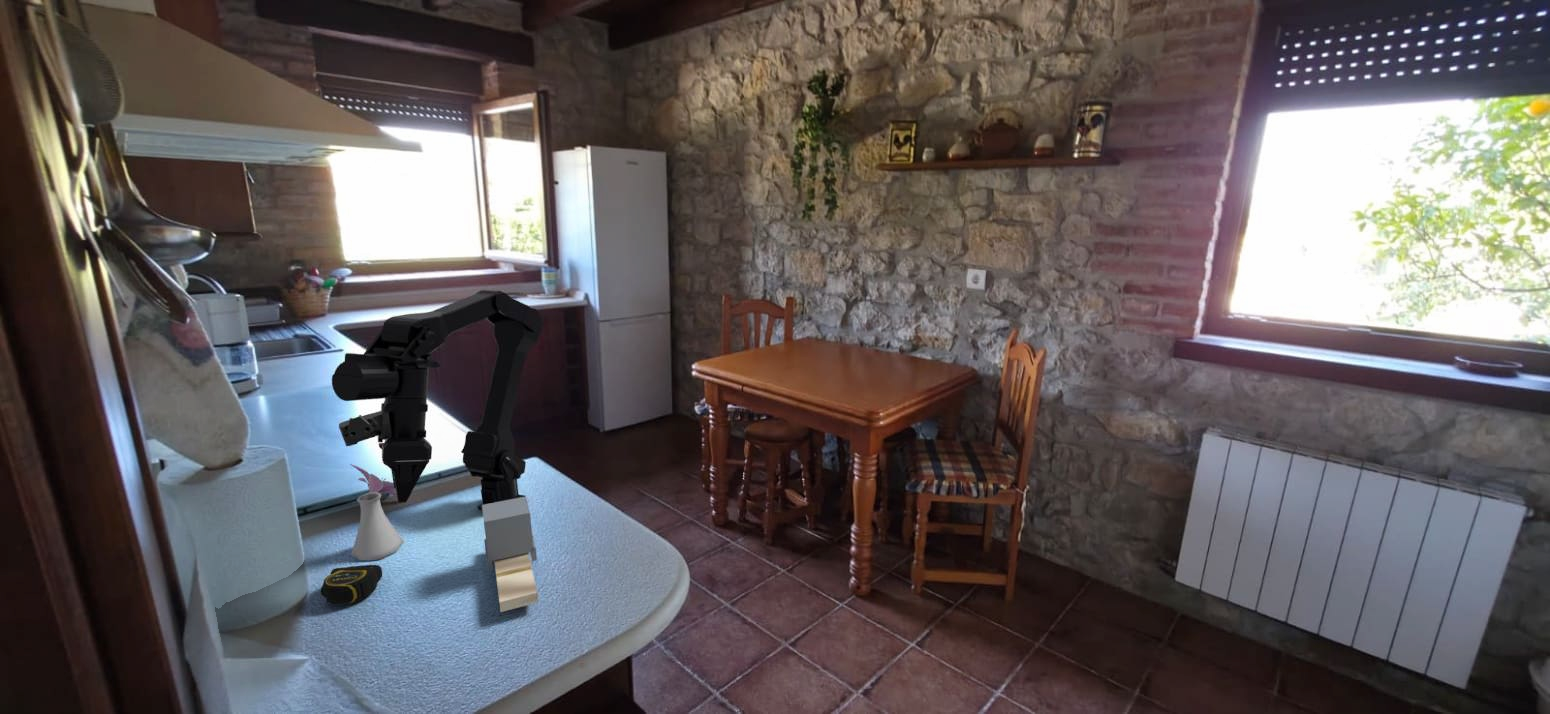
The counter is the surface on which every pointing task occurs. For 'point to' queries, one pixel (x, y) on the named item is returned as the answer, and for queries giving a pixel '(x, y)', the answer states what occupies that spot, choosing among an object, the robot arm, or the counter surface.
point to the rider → (507, 530)
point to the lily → (376, 483)
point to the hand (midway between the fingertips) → (400, 495)
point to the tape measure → (350, 584)
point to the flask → (374, 531)
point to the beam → (515, 582)
